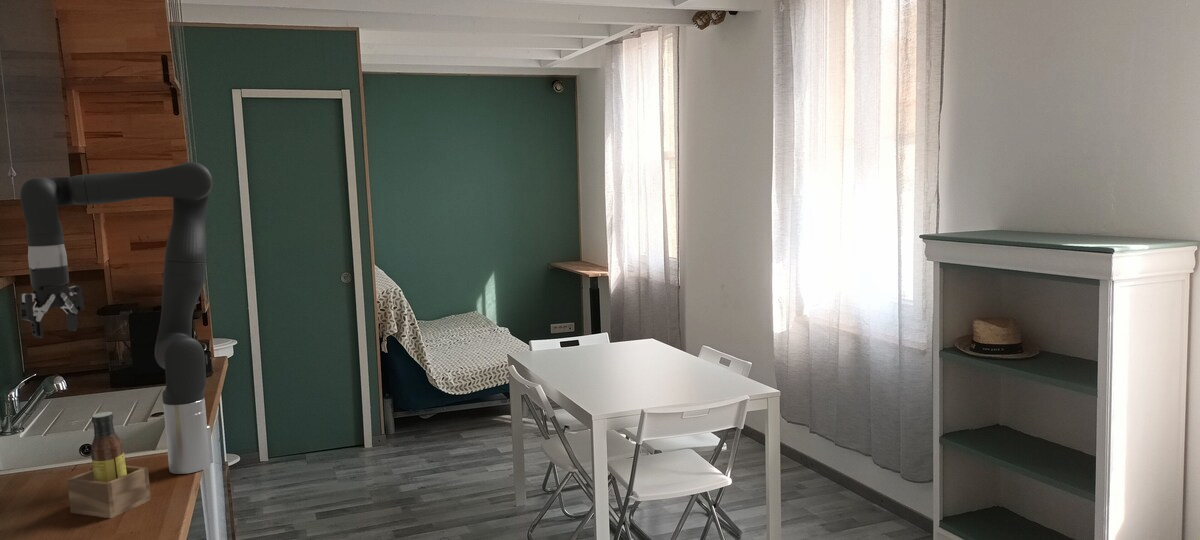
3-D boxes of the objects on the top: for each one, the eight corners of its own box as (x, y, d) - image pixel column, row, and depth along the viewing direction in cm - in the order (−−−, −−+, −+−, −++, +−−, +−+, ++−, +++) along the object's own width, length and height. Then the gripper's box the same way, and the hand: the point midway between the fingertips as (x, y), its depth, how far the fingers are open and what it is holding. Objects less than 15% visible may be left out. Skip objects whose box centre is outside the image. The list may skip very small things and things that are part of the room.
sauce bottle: (123, 493, 197) (114, 407, 194) (134, 499, 193) (126, 412, 190) (91, 502, 192) (82, 414, 189) (102, 509, 188) (93, 419, 185)
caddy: (112, 495, 199) (108, 463, 198) (151, 500, 195) (147, 467, 194) (70, 512, 189) (66, 479, 188) (110, 518, 185) (107, 484, 184)
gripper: (64, 261, 209) (71, 327, 211) (6, 268, 195) (14, 339, 197) (87, 261, 206) (94, 328, 208) (31, 268, 193) (39, 340, 195)
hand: (55, 333), depth 203 cm, fingers open, 8 cm apart
